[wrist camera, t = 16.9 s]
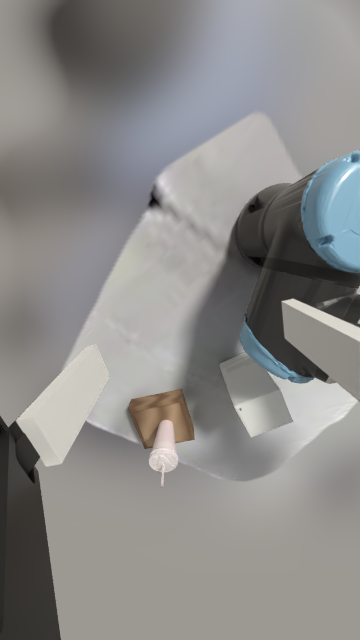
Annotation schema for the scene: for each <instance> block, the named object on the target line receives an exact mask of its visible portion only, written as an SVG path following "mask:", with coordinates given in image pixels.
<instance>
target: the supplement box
mask: <svg viewBox="0 0 360 640" xmlns="http://www.w3.org/2000/svg"><path fill="white" fill-rule="evenodd" d="M219 367H220V370H221V372H222V375H223V378H224V381H225V383H226V386H227V389H228V392H229V395H230V397H231V400H232V403H233V406H234V408H235V410H236V412H237V414H238V416H239V418H240V419H241V421H242V423H243V425H244V426H245V428H246V430H247V432H248V433H249V435H250V437H254V436H256V435H259V434H262V433H264V432H267V431H270V430H272V429H275V428H278V427H280V426H283V425H286V424H288V423H291V422H293V420H292V418H291V415H290V413H289V411H288V408H287V406H286V403H285V401H284V398H283V396H282V393H281V391H280V388H279V387H278V386H277V384H276V383H275V382H274V380H273V379H272V378H271V376H270V375H269V374H268V372H267V371H266V370H265V369H264V368H262V367H261V366H259V365H258V364H257V363H256V362H254V361H253V360H252V359H251V358H250V357H249V356H248V354H247V353H246V352H245V353H242V354H240V355H238V356H235V357H233V358H231V359H229V360H227V361H224V362H222V363H220V364H219Z"/></svg>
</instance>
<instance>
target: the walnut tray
mask: <svg viewBox="0 0 360 640" xmlns="http://www.w3.org/2000/svg"><path fill="white" fill-rule="evenodd" d="M128 410H129V412H130V414H131V417H132V419H133V422H134V424H135V426H136V429H137V431H138V434H139V436H140V438H141V441H142V443H143V446H144V448H145V449H147V448H152V447H153V445H154V442H155V438H156V434H157V431H158V427H159V424H160V422H161V421H163V420H169V421H171V422H172V423H173V427H174V436H175V443H179V442H184V441H190V440H195V439H194V428H193V424H192V421H191V418H190V414H189V411H188V407H187V404H186V401H185V397H184V394H183V390H182V389H180V390H175V391H170V392H165V393H161V394H156V395H151V396H146V397H141V398H136V399H132V400H131V403H130V406H129V409H128Z"/></svg>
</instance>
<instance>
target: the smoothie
mask: <svg viewBox="0 0 360 640" xmlns="http://www.w3.org/2000/svg"><path fill="white" fill-rule="evenodd" d="M177 464H178V455H177V454H176V445H175V436H174V427H173V423H172V422H171V421H169V420H163V421H161V422H160V424H159V427H158V431H157V434H156V438H155V442H154V445H153V449H152V452H151V454H150V455H149V465H150V466H151V468H152V469H154V470H155V471H158V472H162V474H161V488H163V484H164V472H169V471H171V470H174V469H175V468H176V467H177Z"/></svg>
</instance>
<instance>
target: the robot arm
mask: <svg viewBox="0 0 360 640" xmlns="http://www.w3.org/2000/svg"><path fill="white" fill-rule="evenodd" d="M236 240H237V245H238V248H239V250H240V252H241V254H242V255H243V257H244V258H245V259H246V260H247V261H248V262H249V263H251V264H252V265H254V266H257V267H260V268H262V270H261V273H260V276H259V279H258V282H257V285H256V288H255V290H254V293H253V296H252V299H251V302H250V304H249V307H248V310H247V313H246V314H245V316H244V324H243V327H242V330H241V334H240V341H241V344H242V346H243V349H244V350H245V352H246V353H247V354H248V356H249V357H250V358H251V359H252V360H253V361H254V362H256V363H257V364H258V365H259V366H261V367H262V368H264V369H265V370H267V371H268V372H270V373H272V374H273V375H275V376H277V377H280V378H282V379H289V380H290V381H291V382H294V383H307V382H309V381H310V380H313V379H314V378H317V379H319V380H321V381H323V382H325V383H327V384H332V383H338V384H339V385H340V386H342V387H343V388H344V389H345V390H346V391H347V392H349V393H350V394H351V395H352V396H353V397H354V398H356V399H357V400H358V401H359V402H360V295H358V294H357V293H356V292H357V290H358V288H359V286H360V150H357V151H354V152H352V153H350V154H348V155H346V156H343V157H341V158H337V159H334V160H332V161H329V162H328V163H327V164H324V165H323V166H322V167H320V168H319V169H317V170H316V171H314V172H312V173H311V174H309V175H307V176H306V177H304V178H302V179H301V180H299V181H297V182H296V183H294V184H289V183H281V184H276V185H273V186H270V187H267V188H265V189H264V190H262V191H261V192H259V193H258V194H256V195H255V196H254V197H253V198H252V199H250V201H249V202H248V203H247V204H246V205H245V207H244V208H243V210H242V212H241V214H240V216H239V219H238V222H237V227H236ZM272 269H273V270H272ZM285 272H286V273H285ZM298 275H299V276H298ZM355 288H356V289H355ZM109 377H110V376H109V374H108V371H107V369H106V367H105V364H104V362H103V360H102V357H101V355H100V353H99V350H98V348H97V345H92V346H87V347H85V348H84V349H83V351H82V352H81V353H80V354H79V355H78V356H77V357H76V358H75V359H74V360H73V361H72V362H71V363H70V364H69V365H68V366H67V367H66V368H65V369H64V370H63V371H62V373H61V374H60V375H59V376H58V377H57V378H56V379H55V380H54V381H53V382H52V383H51V384H50V385H49V386H48V387H47V388H46V389H45V390H44V392H43V393H41V394H40V395H39V396H38V397H37V398H36V399H35V400H34V401H33V403H32V404H31V405H30V406H29V407H28V408H27V409H26V410H25V411H24V412H23V413H22V414H21V415H20V416H19V417H18V418H17V419H16V420H15V421H14V422H13V423H12V424H11V425H10V427H9V428H8V427H7V425H6V424H5V423H4V421H3V419H2V418H1V416H0V640H61V638H60V630H59V623H58V615H57V608H56V600H55V593H54V585H53V579H52V571H51V563H50V556H49V548H48V541H47V533H46V526H45V518H44V511H43V504H42V496H41V489H40V482H39V474H38V470H37V469H36V467H35V466H34V465H35V464H36V462H37V461H38V459H39V458H41V460H42V461H43V463H44V464H45V466H46V467H48V466H52V465H58V464H62V462H63V461H64V459H65V457H66V455H67V453H68V451H69V450H70V448H71V446H72V444H73V442H74V440H75V439H76V437H77V435H78V433H79V431H80V430H81V428H82V426H83V424H84V422H85V420H86V419H87V417H88V415H89V413H90V411H91V409H92V408H93V406H94V404H95V402H96V400H97V399H98V397H99V395H100V393H101V391H102V389H103V388H104V386H105V384H106V382H107V380H108V378H109Z"/></svg>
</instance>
